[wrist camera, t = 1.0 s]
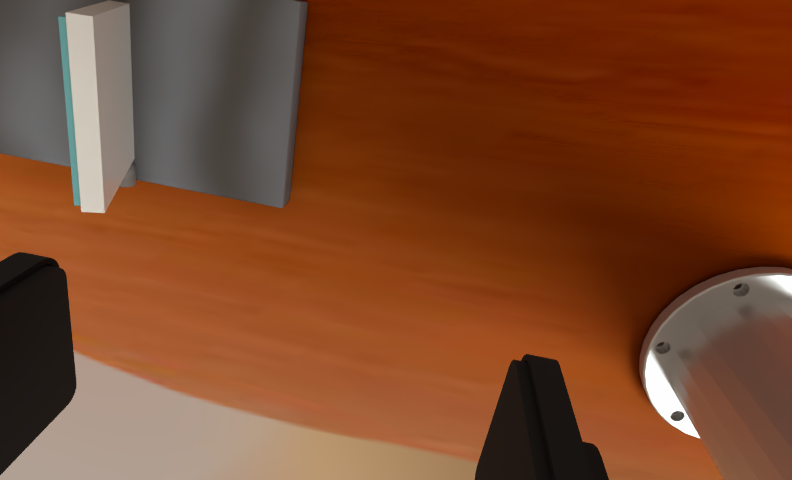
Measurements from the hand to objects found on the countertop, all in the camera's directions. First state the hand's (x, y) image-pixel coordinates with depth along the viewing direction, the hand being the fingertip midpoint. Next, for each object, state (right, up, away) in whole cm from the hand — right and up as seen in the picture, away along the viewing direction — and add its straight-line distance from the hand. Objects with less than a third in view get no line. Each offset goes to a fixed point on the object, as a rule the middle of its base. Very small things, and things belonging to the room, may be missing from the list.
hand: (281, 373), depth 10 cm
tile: (-11, +9, +15) cm, 21 cm away
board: (-12, +11, +20) cm, 26 cm away
